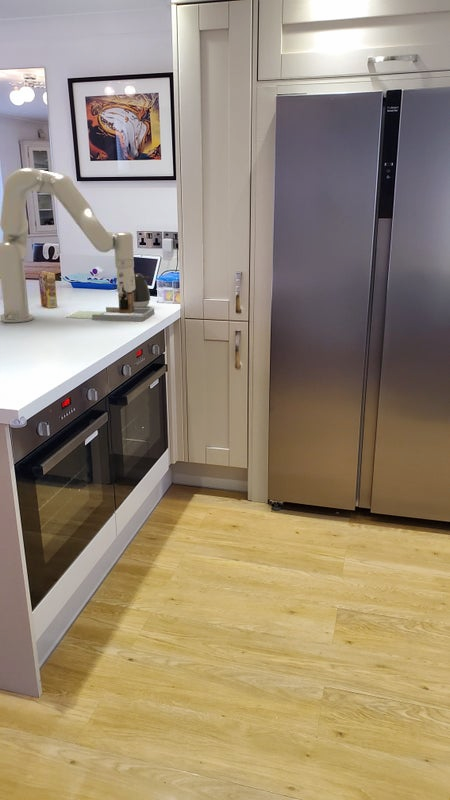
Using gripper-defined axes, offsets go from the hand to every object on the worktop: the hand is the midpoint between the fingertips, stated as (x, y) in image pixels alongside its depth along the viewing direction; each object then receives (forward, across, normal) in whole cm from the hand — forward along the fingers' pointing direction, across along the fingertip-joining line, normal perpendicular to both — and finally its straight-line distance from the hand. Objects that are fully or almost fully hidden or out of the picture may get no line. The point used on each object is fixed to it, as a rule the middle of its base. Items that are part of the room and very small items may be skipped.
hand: (126, 307), depth 259 cm
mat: (+4, 0, +18) cm, 18 cm away
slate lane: (+4, 0, +1) cm, 4 cm away
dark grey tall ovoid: (+4, +20, +1) cm, 21 cm away
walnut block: (+2, 0, +3) cm, 4 cm away
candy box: (+4, +16, +42) cm, 45 cm away
